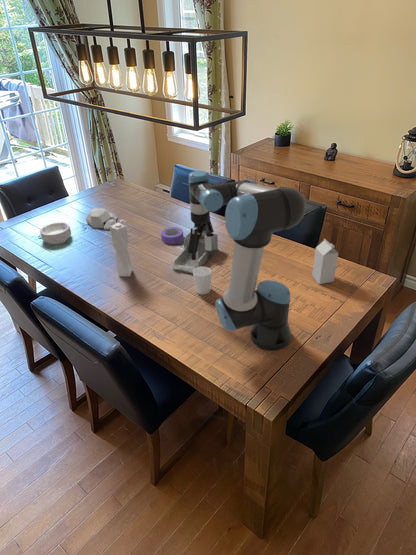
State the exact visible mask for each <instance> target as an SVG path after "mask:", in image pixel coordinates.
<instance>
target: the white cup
mask: <svg viewBox="0 0 416 555" xmlns="http://www.w3.org/2000/svg"><path fill="white" fill-rule="evenodd" d="M192 275H193V283H194V285H193V286H194V291H195V293H197V294H198V295H207V294H209V293H210V292H211V287H212V270H211V268H210V267H208V266H204V265H203V266H202V267H197V268H195V269H194V270H193V274H192Z"/></svg>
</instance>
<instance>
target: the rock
mask: <svg viewBox="0 0 416 555" xmlns="http://www.w3.org/2000/svg"><path fill="white" fill-rule="evenodd" d="M117 220H118V215H116V214H114V213H112V212H109V210H107V209H105V208H102V207H101V208H100V207H99V208H95V207H94V208H91V211H90V212H89V213H88V214H87V216H86V218H85V221H86V223H87V224H88V225H89V226H91V227H92V228H94V229H104V231H109V230H110V225H111V226H112V225H115V224H116V223H117Z"/></svg>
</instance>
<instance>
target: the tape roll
mask: <svg viewBox="0 0 416 555" xmlns="http://www.w3.org/2000/svg"><path fill="white" fill-rule="evenodd" d="M160 237H161V242H163V244H167V245H176V244H178V243H181V242H184V238H185V237H184V230H183V229H182V228H181V227H179V226H169V227H168V226H167V227H166V228H164V229H162V230H161V232H160Z"/></svg>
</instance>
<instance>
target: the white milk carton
mask: <svg viewBox="0 0 416 555" xmlns="http://www.w3.org/2000/svg"><path fill="white" fill-rule="evenodd" d="M335 247H336V246H335V245H334V244H333V243H331V242H329V241H328V240H327V239H326V238H323V240H322V242H320V243H319V244H318V245H317V246H316V247H315V251H314V260H313V267H312V274H311V275H312V278H313V279H314V280H315V281H316V283H317V284H319V285H322V284H328V283H334V281H335V274H336V270H337V263H338V258H339V252H338V251H337V250H336V249H335Z"/></svg>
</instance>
